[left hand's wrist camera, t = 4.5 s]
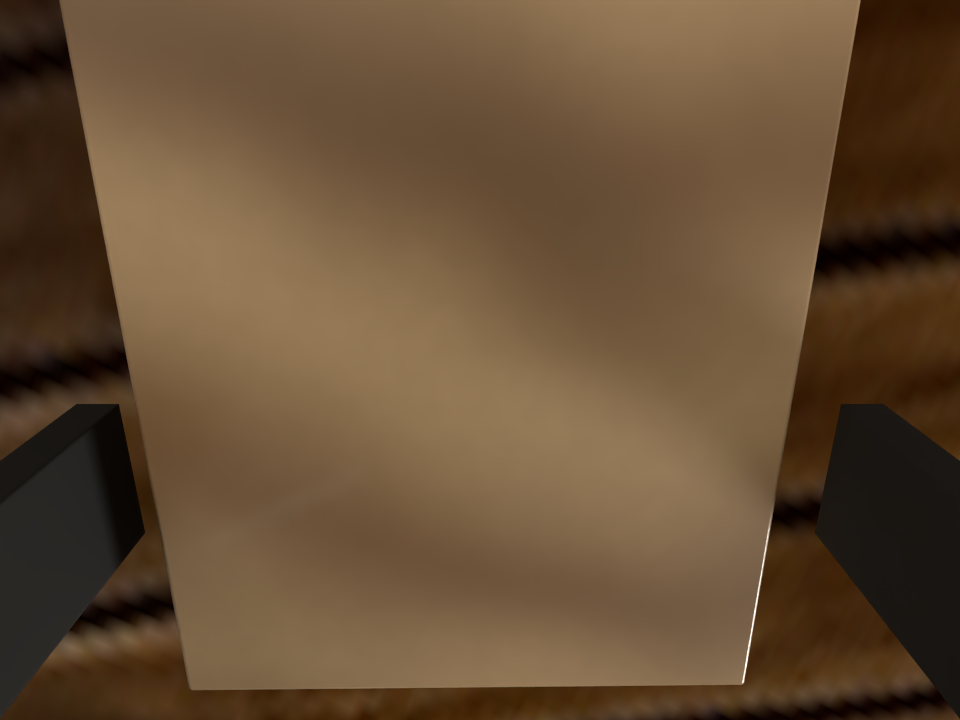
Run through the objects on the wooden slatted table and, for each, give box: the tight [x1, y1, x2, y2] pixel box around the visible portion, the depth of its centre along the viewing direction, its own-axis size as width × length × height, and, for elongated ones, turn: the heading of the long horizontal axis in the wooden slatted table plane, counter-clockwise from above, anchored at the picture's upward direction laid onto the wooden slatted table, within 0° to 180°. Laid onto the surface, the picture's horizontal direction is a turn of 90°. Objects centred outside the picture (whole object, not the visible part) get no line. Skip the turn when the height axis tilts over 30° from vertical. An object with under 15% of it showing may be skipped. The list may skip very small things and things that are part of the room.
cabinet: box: [59, 0, 860, 690], centre depth 14 cm, size 21×10×9 cm, turn 0°
